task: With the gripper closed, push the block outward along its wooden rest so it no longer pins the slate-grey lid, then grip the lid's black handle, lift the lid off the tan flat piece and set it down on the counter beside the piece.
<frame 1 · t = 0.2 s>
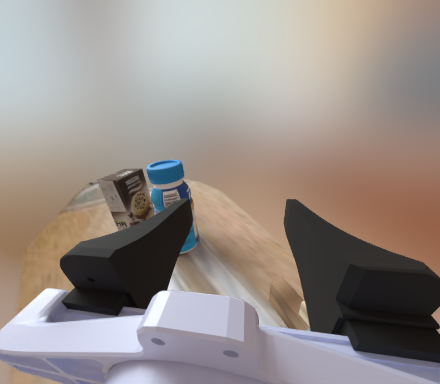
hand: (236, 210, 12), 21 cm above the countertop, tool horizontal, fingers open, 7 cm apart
block: (329, 331, 17), point 6 cm above the countertop, slide at 0.0 cm
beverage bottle: (183, 243, 40), on the countertop
coffee box: (139, 225, 49), on the countertop
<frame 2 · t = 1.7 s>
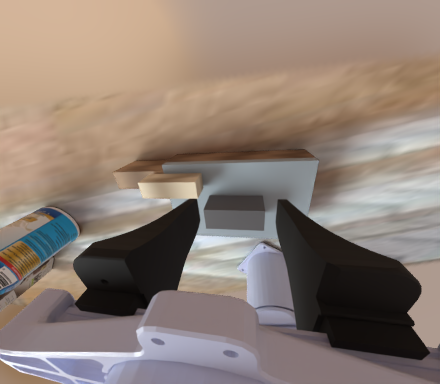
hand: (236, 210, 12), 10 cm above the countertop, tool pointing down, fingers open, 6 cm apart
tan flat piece: (237, 187, 23), on the countertop
lid: (236, 200, 20), point 3 cm above the countertop, touching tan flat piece
block: (172, 185, 17), point 6 cm above the countertop, slide at 0.0 cm
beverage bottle: (62, 222, 32), on the countertop
coffee box: (36, 253, 39), on the countertop
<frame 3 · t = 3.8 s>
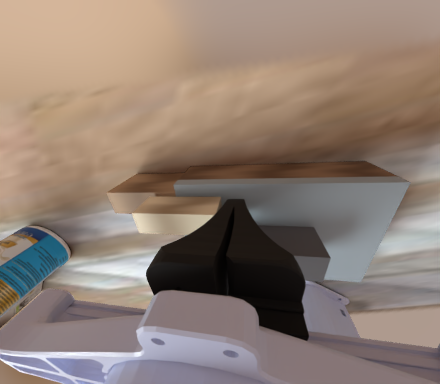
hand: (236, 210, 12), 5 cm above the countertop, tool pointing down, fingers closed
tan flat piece: (267, 207, 18), on the countertop
lid: (271, 229, 15), point 3 cm above the countertop, touching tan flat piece
block: (180, 214, 12), point 6 cm above the countertop, slide at 0.7 cm, touching gripper
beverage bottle: (50, 242, 27), on the countertop
coffee box: (22, 274, 34), on the countertop
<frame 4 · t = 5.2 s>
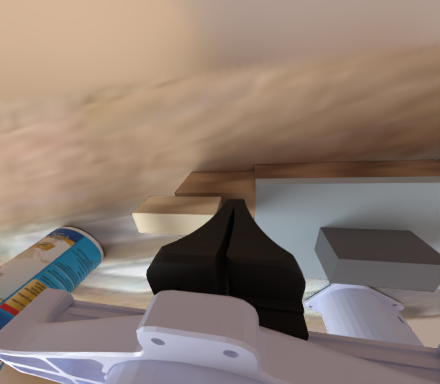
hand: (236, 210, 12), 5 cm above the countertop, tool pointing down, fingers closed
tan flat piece: (332, 209, 17), on the countertop
lid: (351, 232, 14), point 3 cm above the countertop, touching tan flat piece
block: (180, 214, 12), point 6 cm above the countertop, slide at 7.1 cm, touching gripper
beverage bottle: (82, 243, 26), on the countertop
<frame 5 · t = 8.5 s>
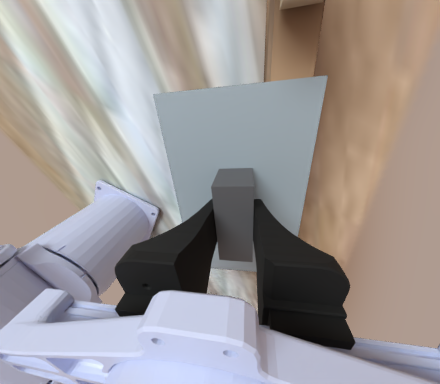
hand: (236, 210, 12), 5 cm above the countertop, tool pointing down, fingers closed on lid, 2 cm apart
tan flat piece: (239, 181, 17), on the countertop
lid: (237, 197, 14), point 3 cm above the countertop, touching gripper, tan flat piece
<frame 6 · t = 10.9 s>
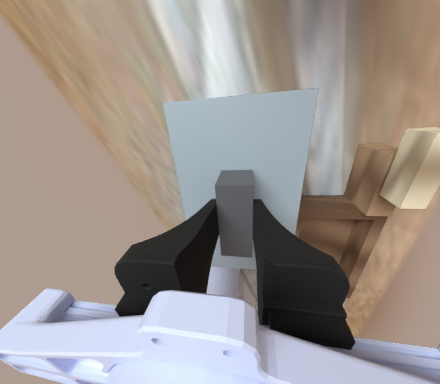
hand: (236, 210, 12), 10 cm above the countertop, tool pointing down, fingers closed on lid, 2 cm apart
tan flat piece: (315, 240, 25), on the countertop
lid: (238, 198, 15), point 8 cm above the countertop, touching gripper
block: (416, 169, 13), point 6 cm above the countertop, slide at 7.2 cm
when the fingers open (3 cm above the countertop, at t = 13.3 s): lid stays where it is, on the countertop.
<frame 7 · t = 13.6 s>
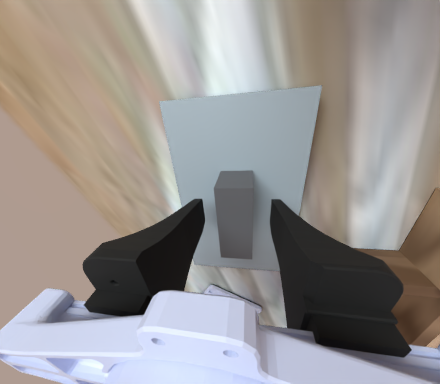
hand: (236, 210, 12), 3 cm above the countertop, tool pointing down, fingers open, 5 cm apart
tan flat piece: (349, 298, 19), on the countertop
lid: (238, 198, 15), on the countertop
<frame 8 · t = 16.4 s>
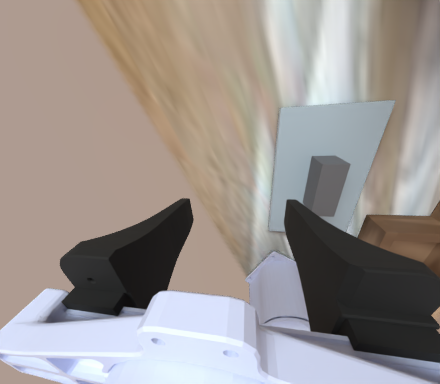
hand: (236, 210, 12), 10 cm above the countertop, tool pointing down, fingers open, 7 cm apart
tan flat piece: (386, 258, 25), on the countertop
lid: (314, 177, 20), on the countertop
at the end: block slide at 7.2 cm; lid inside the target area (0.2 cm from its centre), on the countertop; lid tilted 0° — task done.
